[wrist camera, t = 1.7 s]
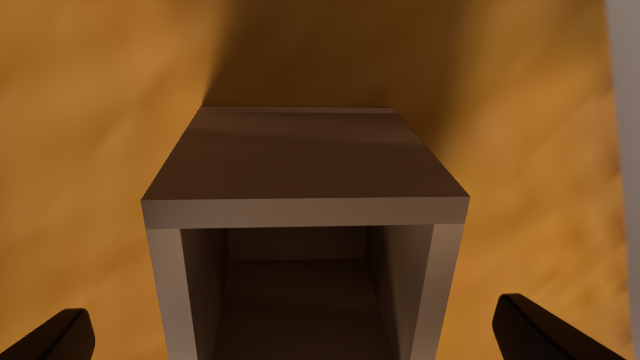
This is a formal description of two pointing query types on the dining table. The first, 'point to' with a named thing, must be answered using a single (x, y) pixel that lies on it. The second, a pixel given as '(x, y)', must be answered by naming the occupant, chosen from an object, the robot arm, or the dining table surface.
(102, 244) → the dining table surface
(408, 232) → the walnut crate
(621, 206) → the dining table surface
